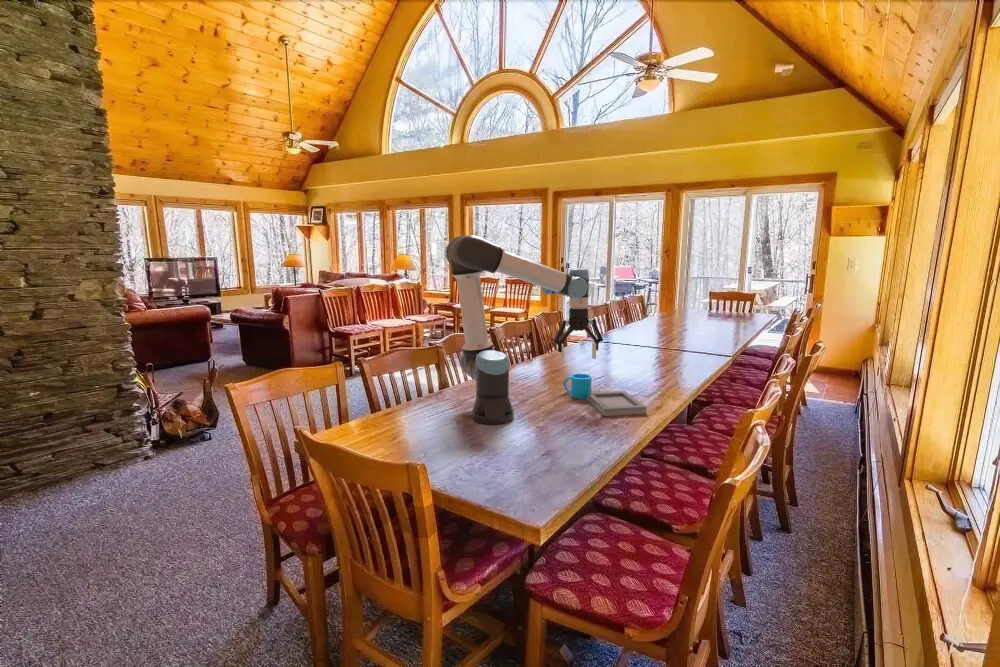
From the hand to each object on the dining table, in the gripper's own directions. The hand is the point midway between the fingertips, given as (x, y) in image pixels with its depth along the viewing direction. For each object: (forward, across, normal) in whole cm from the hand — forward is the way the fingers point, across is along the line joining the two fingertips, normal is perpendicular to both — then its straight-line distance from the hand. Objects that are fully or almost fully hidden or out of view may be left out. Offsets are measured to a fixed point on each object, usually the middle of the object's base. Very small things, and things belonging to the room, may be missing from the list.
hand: (577, 359), depth 202 cm
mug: (+15, 0, 0) cm, 15 cm away
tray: (+15, +10, -17) cm, 25 cm away
